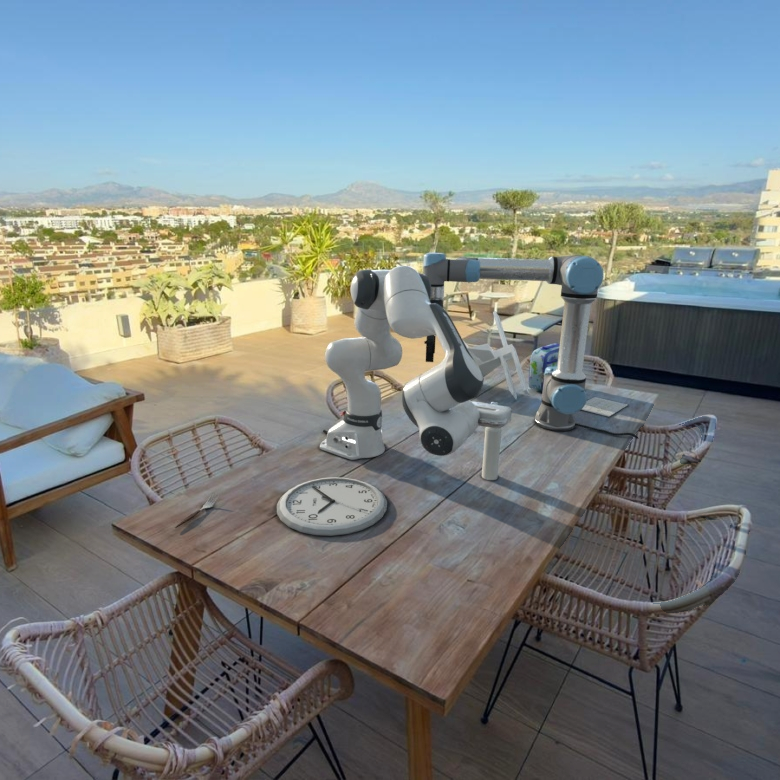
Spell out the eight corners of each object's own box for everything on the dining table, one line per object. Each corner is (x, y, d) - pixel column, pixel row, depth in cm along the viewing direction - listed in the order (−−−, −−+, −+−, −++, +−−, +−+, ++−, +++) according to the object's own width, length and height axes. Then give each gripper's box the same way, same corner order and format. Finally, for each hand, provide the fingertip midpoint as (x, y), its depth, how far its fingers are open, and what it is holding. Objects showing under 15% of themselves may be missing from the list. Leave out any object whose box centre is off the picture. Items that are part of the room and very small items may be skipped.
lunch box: (544, 395, 239) (549, 351, 233) (524, 390, 247) (528, 347, 240) (571, 384, 257) (577, 343, 251) (552, 380, 264) (556, 339, 258)
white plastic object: (461, 429, 252) (437, 405, 227) (444, 352, 274) (420, 323, 250) (535, 404, 240) (518, 377, 215) (510, 326, 262) (492, 293, 237)
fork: (171, 528, 130) (170, 521, 130) (212, 499, 145) (211, 492, 144) (179, 530, 129) (178, 523, 129) (220, 500, 144) (219, 494, 143)
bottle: (484, 480, 158) (489, 419, 152) (479, 473, 163) (484, 413, 157) (499, 479, 159) (505, 418, 153) (494, 472, 163) (499, 412, 157)
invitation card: (608, 416, 214) (573, 407, 224) (608, 416, 214) (573, 408, 224) (628, 404, 229) (594, 396, 238) (628, 405, 229) (594, 397, 238)
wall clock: (392, 527, 129) (268, 531, 127) (391, 533, 130) (269, 537, 127) (383, 473, 158) (282, 475, 155) (383, 478, 158) (282, 480, 156)
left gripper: (505, 412, 117) (518, 396, 129) (420, 399, 125) (440, 384, 137) (503, 439, 118) (516, 420, 130) (419, 424, 127) (439, 407, 139)
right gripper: (424, 293, 195) (422, 349, 202) (419, 302, 172) (417, 365, 178) (444, 294, 195) (441, 350, 201) (442, 303, 171) (439, 366, 177)
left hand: (476, 402), depth 134 cm, fingers open, 8 cm apart
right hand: (430, 357), depth 190 cm, fingers open, 13 cm apart
